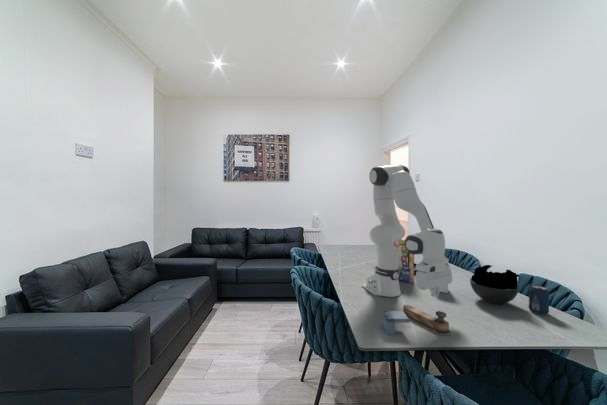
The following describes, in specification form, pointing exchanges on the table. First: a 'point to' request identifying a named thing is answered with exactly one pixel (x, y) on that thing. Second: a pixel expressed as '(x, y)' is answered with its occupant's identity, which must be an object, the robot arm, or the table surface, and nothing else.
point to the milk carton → (445, 287)
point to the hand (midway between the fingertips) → (435, 296)
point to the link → (428, 318)
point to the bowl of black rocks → (494, 285)
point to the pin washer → (441, 333)
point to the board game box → (404, 261)
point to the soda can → (539, 300)
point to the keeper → (392, 320)
